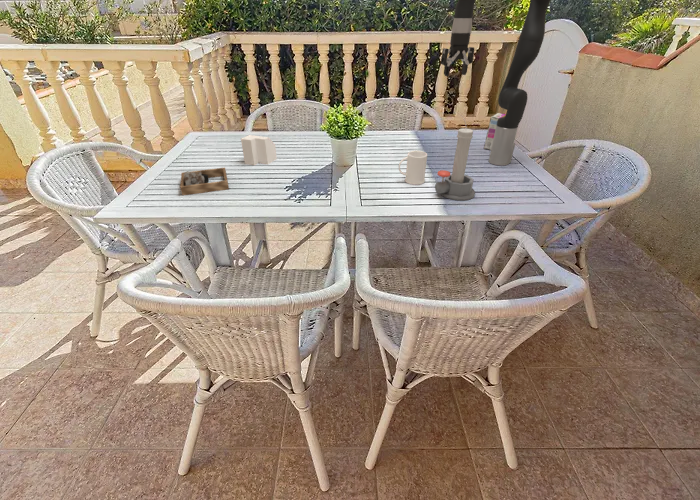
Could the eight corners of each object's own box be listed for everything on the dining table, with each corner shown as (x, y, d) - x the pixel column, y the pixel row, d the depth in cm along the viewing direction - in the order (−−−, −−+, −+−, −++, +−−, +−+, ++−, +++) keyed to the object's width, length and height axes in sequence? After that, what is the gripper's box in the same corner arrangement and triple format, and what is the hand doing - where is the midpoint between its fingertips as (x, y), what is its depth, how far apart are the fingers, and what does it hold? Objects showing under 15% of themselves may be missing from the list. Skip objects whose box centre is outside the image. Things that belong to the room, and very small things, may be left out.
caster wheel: (204, 183, 163) (213, 187, 156) (177, 185, 155) (186, 189, 149) (203, 168, 160) (212, 171, 154) (176, 169, 153) (185, 173, 146)
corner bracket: (245, 163, 176) (240, 138, 169) (258, 156, 185) (255, 132, 178) (264, 167, 173) (260, 141, 166) (276, 159, 181) (274, 134, 175)
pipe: (462, 194, 145) (476, 116, 129) (446, 192, 147) (458, 115, 130) (462, 189, 150) (476, 112, 133) (446, 187, 151) (458, 111, 134)
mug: (398, 185, 156) (400, 157, 149) (396, 177, 163) (398, 150, 156) (426, 185, 156) (429, 157, 149) (423, 177, 163) (426, 150, 156)
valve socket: (461, 183, 156) (465, 161, 151) (481, 197, 145) (487, 174, 140) (426, 189, 152) (429, 167, 146) (444, 204, 141) (448, 180, 135)
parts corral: (226, 174, 165) (225, 167, 163) (229, 189, 152) (227, 181, 150) (183, 180, 160) (181, 172, 158) (182, 195, 147) (180, 187, 145)
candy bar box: (492, 150, 191) (500, 118, 182) (483, 149, 193) (489, 116, 184) (499, 145, 199) (506, 113, 189) (490, 143, 201) (497, 112, 192)
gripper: (470, 30, 153) (464, 73, 162) (440, 31, 149) (435, 75, 158) (481, 31, 147) (474, 75, 156) (451, 32, 143) (445, 77, 152)
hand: (454, 75), depth 157 cm, fingers open, 8 cm apart
